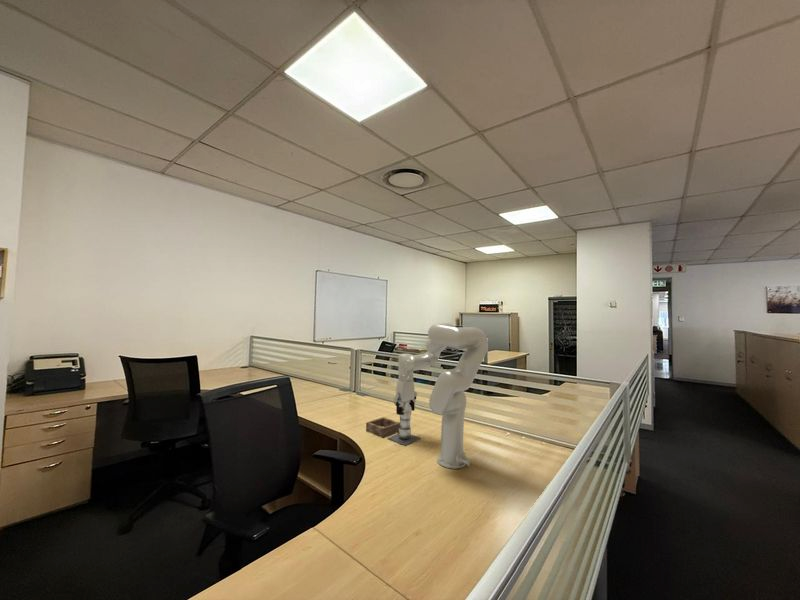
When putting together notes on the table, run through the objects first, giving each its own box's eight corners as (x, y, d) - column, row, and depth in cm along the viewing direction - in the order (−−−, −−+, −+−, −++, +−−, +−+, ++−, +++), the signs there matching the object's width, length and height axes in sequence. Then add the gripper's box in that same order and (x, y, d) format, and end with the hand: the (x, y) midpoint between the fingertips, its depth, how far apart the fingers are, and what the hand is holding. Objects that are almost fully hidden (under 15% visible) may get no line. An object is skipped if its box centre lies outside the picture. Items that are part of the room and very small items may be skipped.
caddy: (400, 431, 175) (400, 422, 175) (383, 438, 165) (383, 429, 165) (383, 425, 184) (383, 417, 184) (366, 431, 174) (366, 422, 174)
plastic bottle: (403, 434, 169) (404, 395, 170) (413, 438, 164) (414, 398, 165) (395, 438, 164) (396, 398, 165) (405, 441, 160) (406, 400, 160)
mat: (420, 439, 165) (420, 438, 165) (405, 446, 156) (405, 444, 156) (403, 432, 173) (403, 431, 173) (387, 439, 164) (387, 437, 164)
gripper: (411, 375, 174) (410, 407, 173) (388, 379, 161) (388, 414, 160) (422, 376, 169) (421, 410, 168) (399, 381, 156) (399, 417, 155)
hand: (405, 412), depth 164 cm, fingers open, 9 cm apart
